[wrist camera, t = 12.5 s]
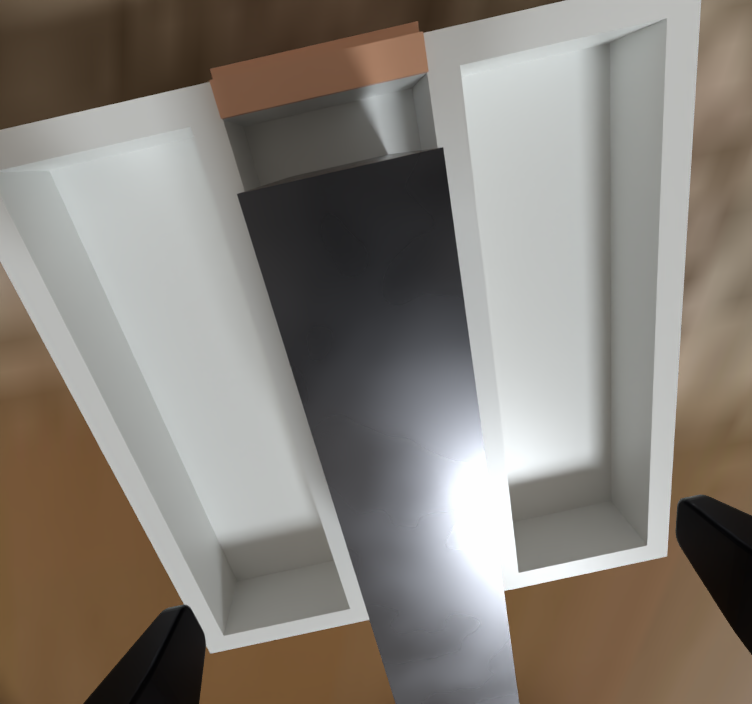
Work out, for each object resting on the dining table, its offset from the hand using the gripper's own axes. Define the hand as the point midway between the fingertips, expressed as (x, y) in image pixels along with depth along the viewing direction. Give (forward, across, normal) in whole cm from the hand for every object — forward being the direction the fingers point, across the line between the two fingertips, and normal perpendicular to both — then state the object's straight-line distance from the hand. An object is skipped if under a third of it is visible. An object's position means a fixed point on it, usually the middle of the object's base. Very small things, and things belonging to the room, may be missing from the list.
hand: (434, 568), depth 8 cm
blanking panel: (+9, 0, 0) cm, 9 cm away
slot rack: (+9, 0, 0) cm, 9 cm away
